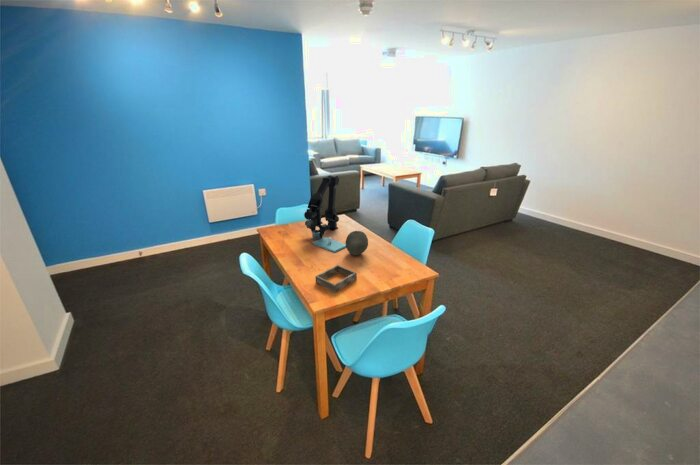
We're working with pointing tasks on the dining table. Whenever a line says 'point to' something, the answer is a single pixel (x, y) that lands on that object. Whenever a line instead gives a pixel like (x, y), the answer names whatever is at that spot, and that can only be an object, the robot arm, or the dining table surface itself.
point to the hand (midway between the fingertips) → (317, 236)
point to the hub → (316, 235)
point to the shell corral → (339, 285)
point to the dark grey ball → (356, 242)
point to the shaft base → (330, 244)
